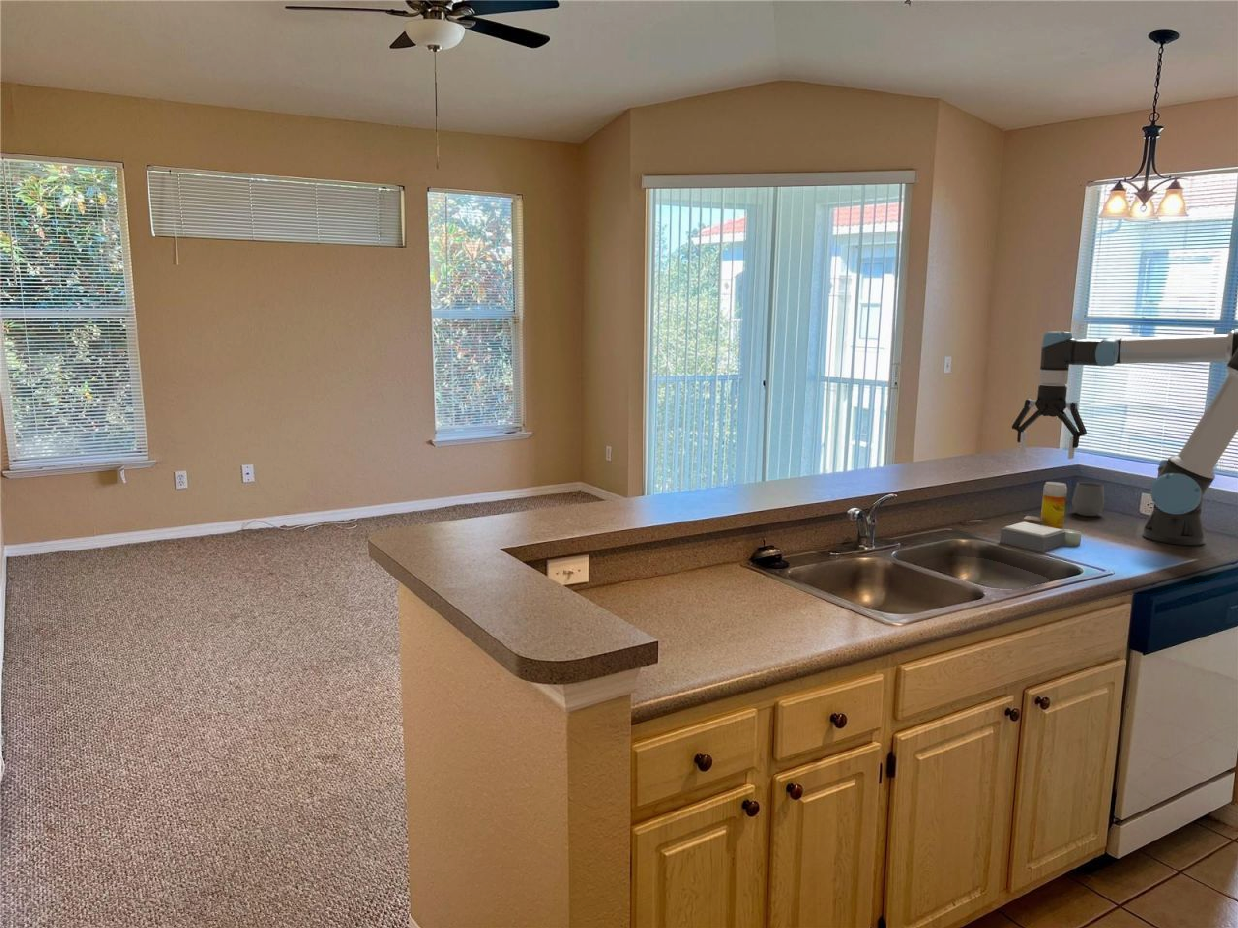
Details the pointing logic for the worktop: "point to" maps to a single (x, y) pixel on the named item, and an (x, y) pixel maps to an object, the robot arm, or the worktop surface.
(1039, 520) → the walnut block
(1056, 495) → the glass of beer
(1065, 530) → the cream short cylinder
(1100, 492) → the cup
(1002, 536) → the podium
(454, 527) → the worktop surface
